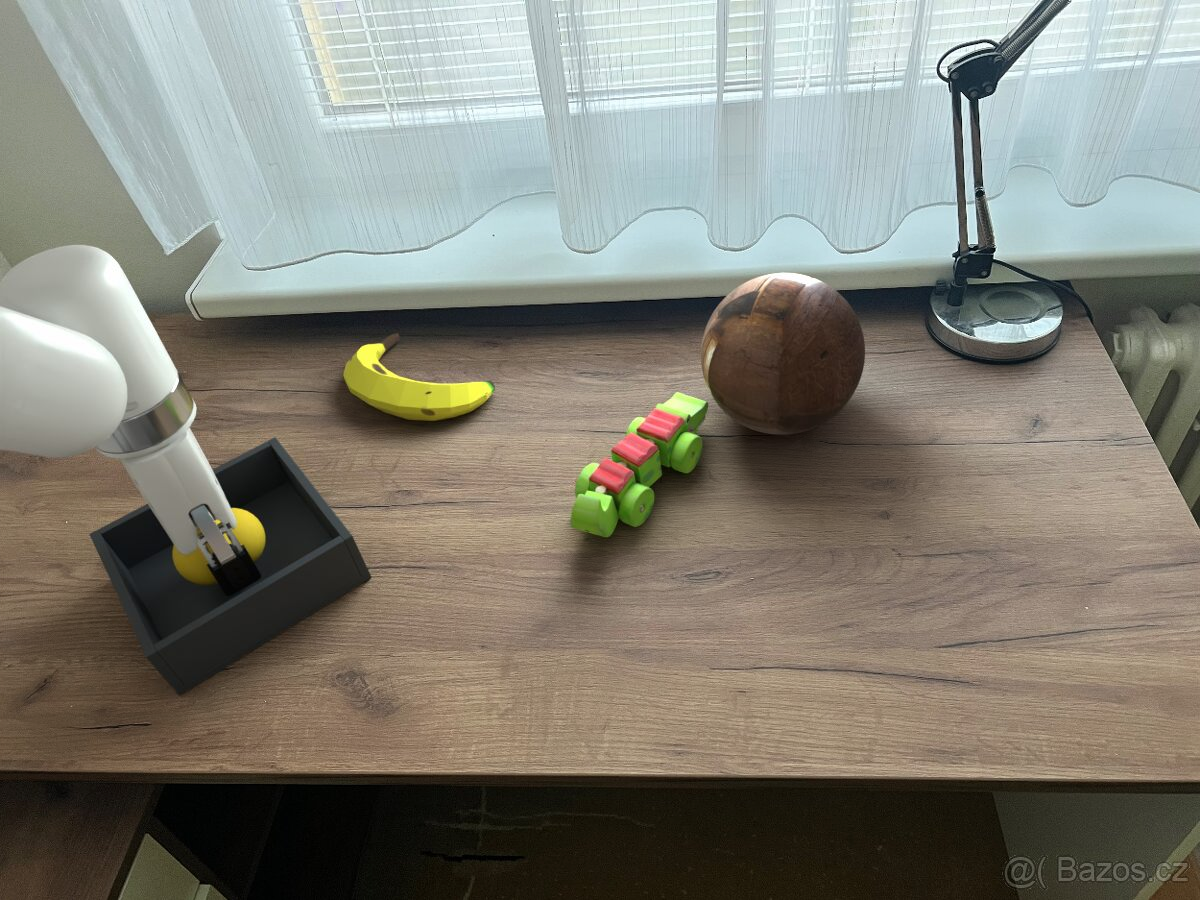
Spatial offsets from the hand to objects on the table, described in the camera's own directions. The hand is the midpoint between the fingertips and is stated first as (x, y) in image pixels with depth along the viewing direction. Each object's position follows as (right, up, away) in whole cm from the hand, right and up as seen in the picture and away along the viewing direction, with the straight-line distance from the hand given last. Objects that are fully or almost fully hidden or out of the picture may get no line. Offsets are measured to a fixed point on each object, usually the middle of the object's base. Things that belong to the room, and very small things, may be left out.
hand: (229, 562), depth 77 cm
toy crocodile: (+37, +7, +6) cm, 38 cm away
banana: (+13, +17, +19) cm, 29 cm away
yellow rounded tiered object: (0, 0, 0) cm, 1 cm away
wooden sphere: (+50, +13, +10) cm, 53 cm away
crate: (0, -1, +2) cm, 3 cm away
